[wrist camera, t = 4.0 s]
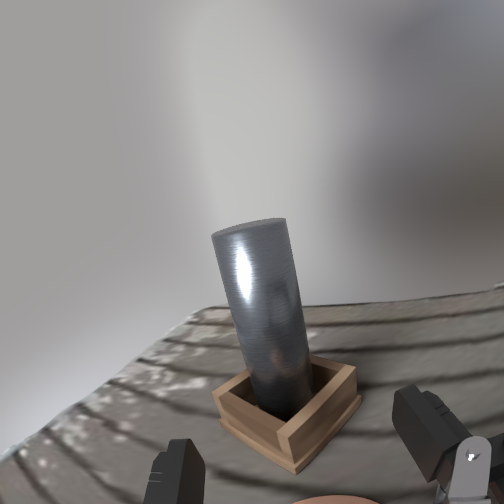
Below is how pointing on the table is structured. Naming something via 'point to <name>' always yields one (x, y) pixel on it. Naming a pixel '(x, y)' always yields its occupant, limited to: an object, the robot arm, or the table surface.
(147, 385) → the table surface
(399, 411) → the robot arm
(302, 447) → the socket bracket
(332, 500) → the pad
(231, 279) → the rod
